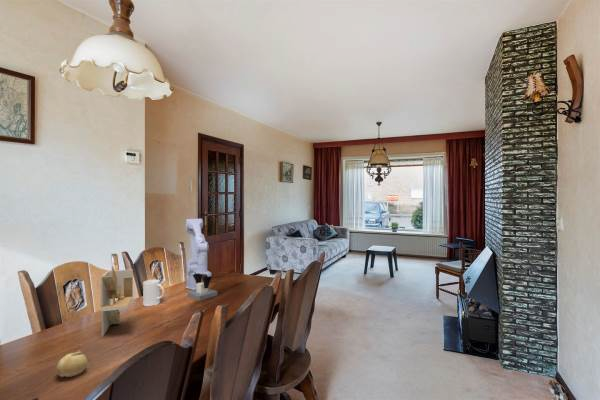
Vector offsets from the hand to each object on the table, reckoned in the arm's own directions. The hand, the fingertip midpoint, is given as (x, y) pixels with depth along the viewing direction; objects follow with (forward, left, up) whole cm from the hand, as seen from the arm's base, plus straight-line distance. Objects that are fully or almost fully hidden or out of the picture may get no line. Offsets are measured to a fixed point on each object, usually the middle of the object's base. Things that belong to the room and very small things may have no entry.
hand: (202, 287), depth 179 cm
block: (0, 0, -3) cm, 3 cm away
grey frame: (+11, -49, -6) cm, 51 cm away
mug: (-9, -24, -5) cm, 26 cm away
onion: (+37, -73, -6) cm, 82 cm away
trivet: (0, 0, -5) cm, 5 cm away
